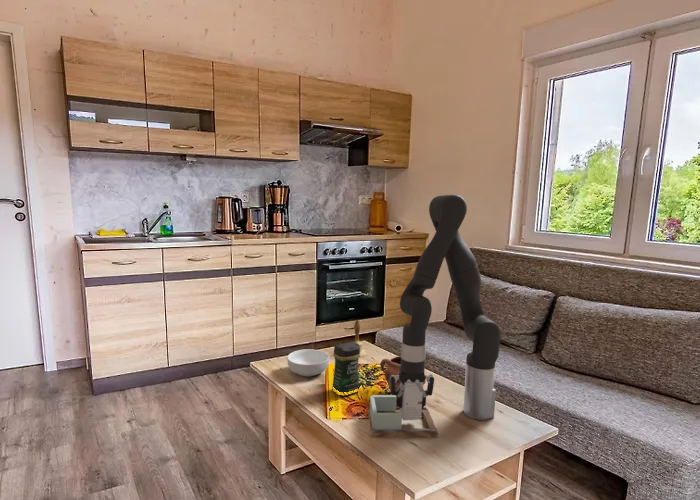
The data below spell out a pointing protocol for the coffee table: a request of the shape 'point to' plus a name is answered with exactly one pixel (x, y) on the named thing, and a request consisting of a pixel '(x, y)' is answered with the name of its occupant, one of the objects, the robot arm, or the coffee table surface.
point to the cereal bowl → (308, 362)
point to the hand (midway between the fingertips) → (410, 406)
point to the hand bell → (357, 329)
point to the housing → (384, 419)
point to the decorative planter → (392, 370)
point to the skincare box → (411, 402)
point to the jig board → (407, 432)
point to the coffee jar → (346, 367)
